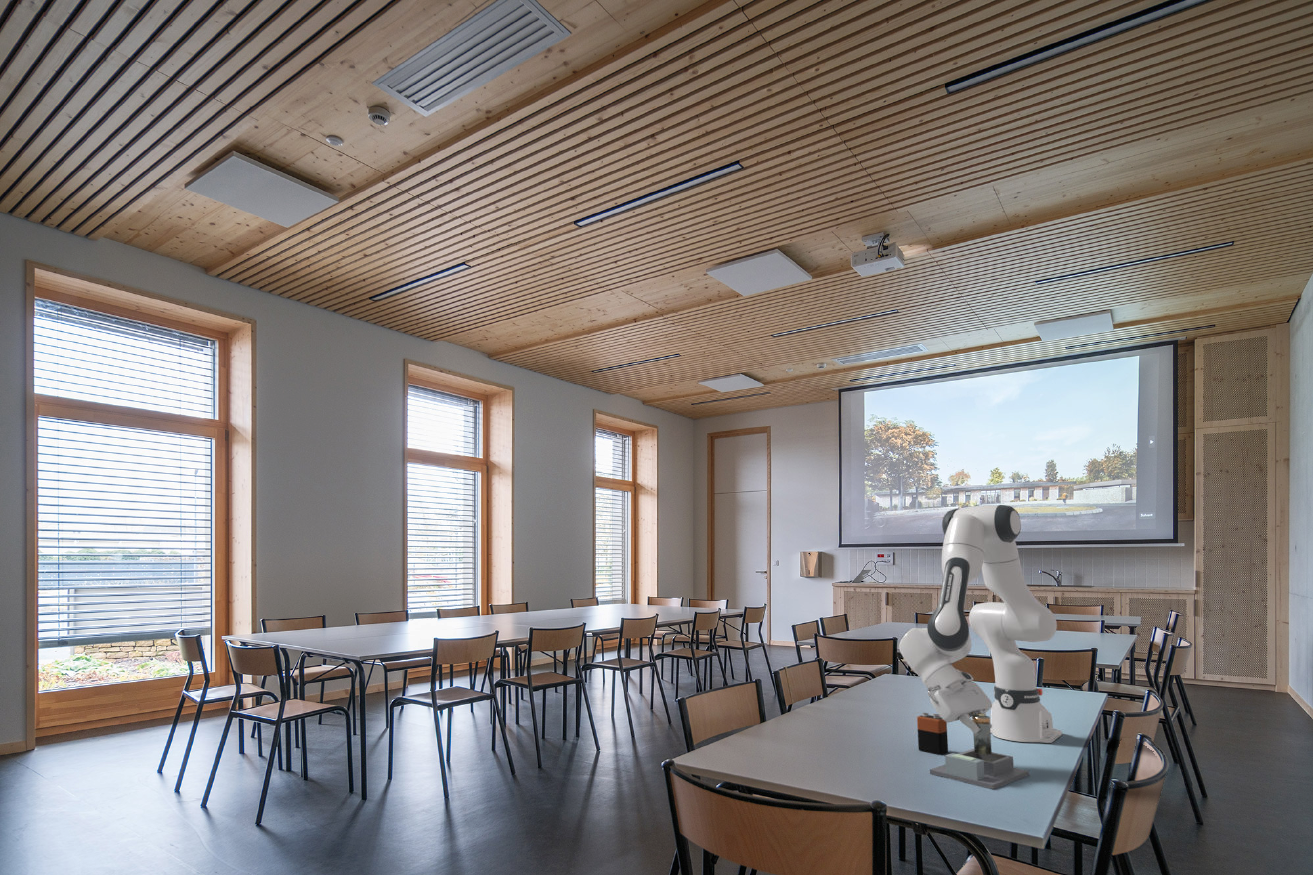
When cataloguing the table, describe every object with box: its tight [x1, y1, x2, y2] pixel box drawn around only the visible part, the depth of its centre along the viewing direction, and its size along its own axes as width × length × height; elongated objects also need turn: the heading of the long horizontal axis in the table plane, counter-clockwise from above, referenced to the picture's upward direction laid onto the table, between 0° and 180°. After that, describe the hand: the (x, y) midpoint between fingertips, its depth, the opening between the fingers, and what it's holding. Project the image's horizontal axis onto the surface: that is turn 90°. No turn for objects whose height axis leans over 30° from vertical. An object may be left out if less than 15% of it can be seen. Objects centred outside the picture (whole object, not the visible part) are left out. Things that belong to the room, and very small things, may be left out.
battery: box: [916, 712, 949, 755], centre depth 209 cm, size 4×7×10 cm, turn 42°
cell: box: [971, 713, 992, 755], centre depth 189 cm, size 4×4×9 cm
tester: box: [929, 748, 1030, 790], centre depth 187 cm, size 18×16×5 cm
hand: (984, 730), depth 189 cm, fingers closed on cell, 4 cm apart
